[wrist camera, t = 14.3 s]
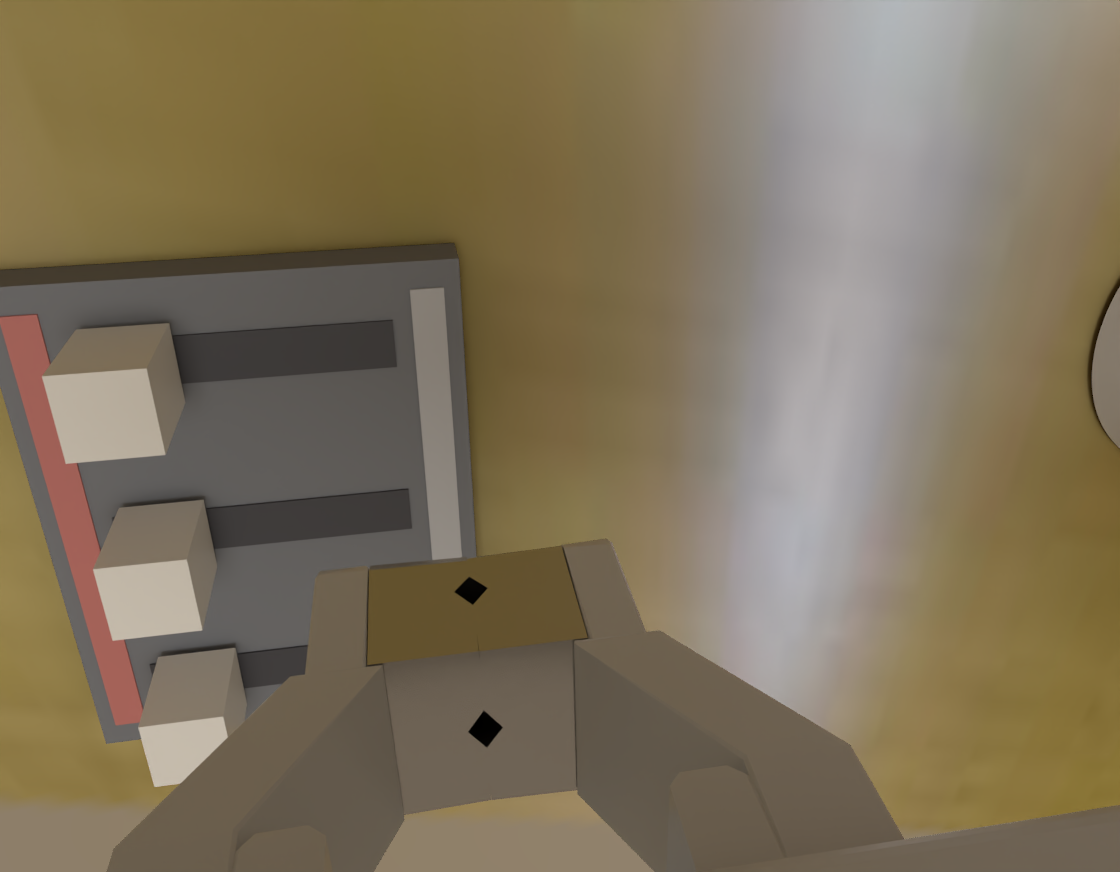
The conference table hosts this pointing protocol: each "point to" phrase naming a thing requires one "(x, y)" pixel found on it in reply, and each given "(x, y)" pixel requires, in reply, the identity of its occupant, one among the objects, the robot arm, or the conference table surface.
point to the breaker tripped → (156, 570)
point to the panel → (255, 439)
